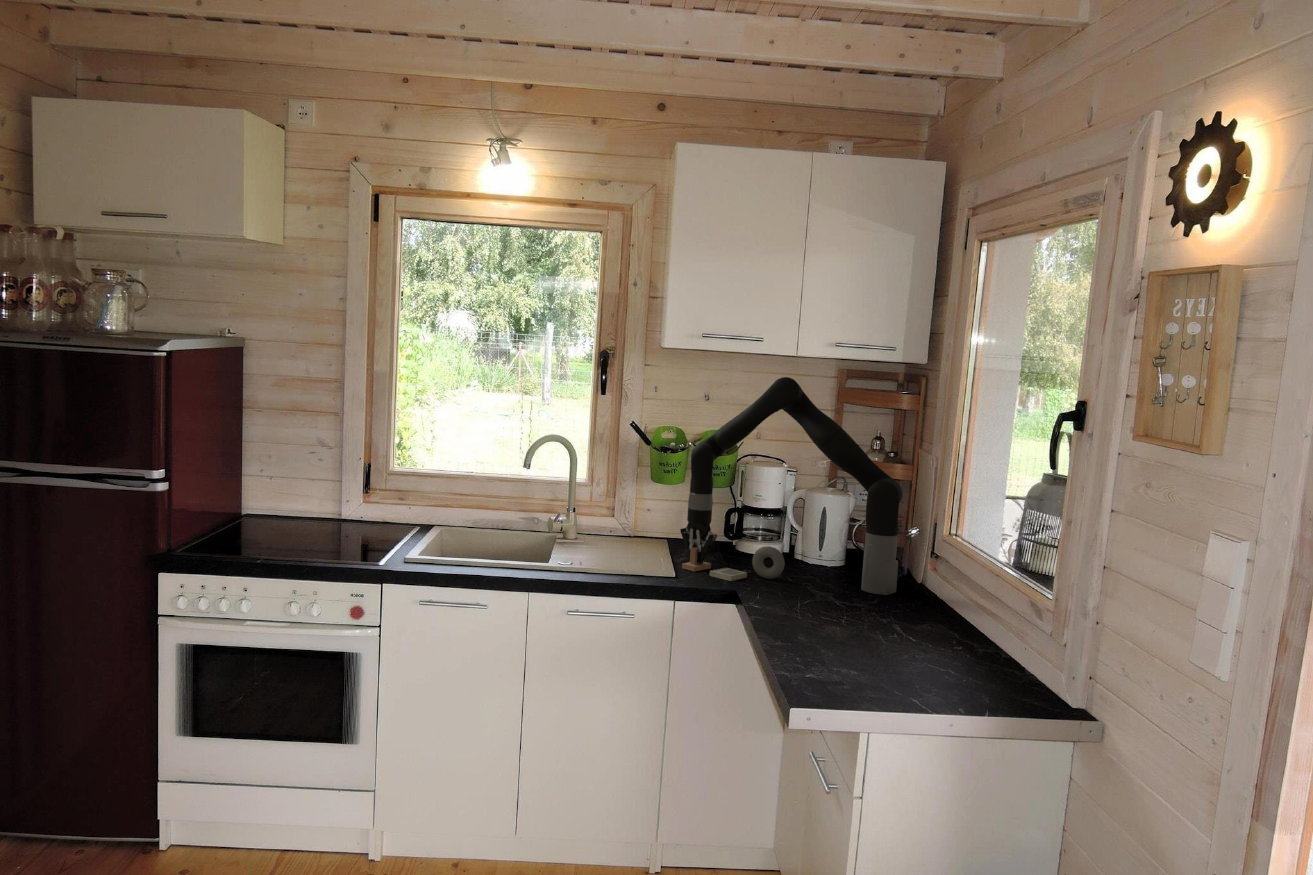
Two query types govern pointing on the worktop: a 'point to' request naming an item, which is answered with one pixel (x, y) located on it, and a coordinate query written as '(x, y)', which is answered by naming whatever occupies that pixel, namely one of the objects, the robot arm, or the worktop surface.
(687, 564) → the stub
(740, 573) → the control panel
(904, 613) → the worktop surface
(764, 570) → the donut
